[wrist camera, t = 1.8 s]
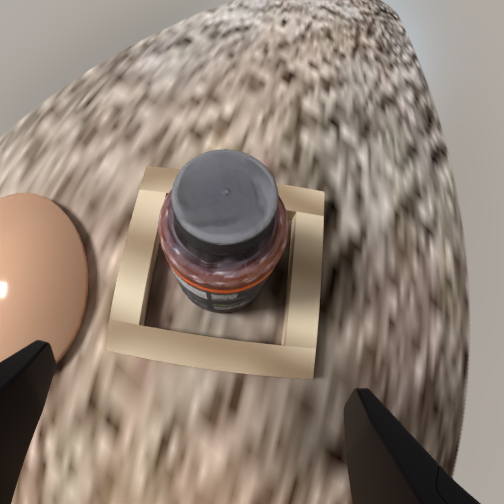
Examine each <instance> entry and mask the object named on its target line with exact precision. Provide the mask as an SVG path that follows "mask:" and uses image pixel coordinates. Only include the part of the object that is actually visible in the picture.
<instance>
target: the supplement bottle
mask: <svg viewBox="0 0 504 504" xmlns="http://www.w3.org/2000/svg"><path fill="white" fill-rule="evenodd" d="M158 232H159V239H160V243H161V247H162V250H163V252H164V255H165V257H166V259H167V261H168V263H169V265H170V267H171V269H172V271H173V273H174V275H175V276H176V278H177V280H178V282H179V284H180V286H181V288H182V290H183V292H184V293H185V294H186V295H187V296H188V298H189V299H190V300H191V301H192V302H193V303H195V304H196V305H197V306H199V307H201V308H203V309H205V310H207V311H212V312H218V313H226V312H232V311H236V310H238V309H241V308H243V307H245V306H246V305H248V304H249V303H250V302H251V301H252V300H253V299H255V297H256V296H257V295H258V293H259V292H260V290H261V289H262V287H263V285H264V284H265V282H266V281H267V279H268V277H269V276H270V274H271V273H272V271H273V269H274V268H275V266H276V264H277V263H278V261H279V259H280V258H281V256H282V254H283V252H284V250H285V247H286V244H287V239H288V232H289V224H288V215H287V212H286V208H285V206H284V203H283V201H282V199H281V198H280V196H279V194H278V188H277V185H276V182H275V180H274V178H273V176H272V174H271V173H270V171H269V170H268V169H267V168H266V166H264V165H263V164H262V163H261V162H260V161H259V160H257V159H256V158H254V157H252V156H250V155H248V154H246V153H243V152H240V151H235V150H227V149H225V150H214V151H210V152H206V153H204V154H201V155H199V156H197V157H195V158H194V159H192V160H190V161H189V162H188V163H187V164H186V165H185V166H184V167H183V168H182V169H181V171H180V172H179V173H178V175H177V177H176V178H175V181H174V183H173V187H172V189H171V191H170V192H169V193H168V195H167V197H166V198H165V200H164V203H163V205H162V208H161V211H160V214H159V222H158Z"/></svg>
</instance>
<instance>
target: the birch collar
mask: <svg viewBox="0 0 504 504" xmlns="http://www.w3.org/2000/svg"><path fill="white" fill-rule="evenodd" d="M180 171H181V170H178V169H169V168H160V167H150V166H147V167H146V170H145V174H144V177H143V180H142V183H141V187H140V190H139V194H138V197H137V201H136V204H135V208H134V211H133V215H132V219H131V223H130V227H129V230H128V234H127V238H126V243H125V247H124V251H123V255H122V260H121V264H120V268H119V273H118V278H117V283H116V287H115V292H114V298H113V303H112V308H111V314H110V320H109V325H108V332H107V338H106V344H105V350H109V351H113V352H117V353H122V354H127V355H131V356H136V357H141V358H146V359H151V360H156V361H162V362H167V363H173V364H179V365H185V366H191V367H198V368H204V369H211V370H219V371H226V372H235V373H243V374H252V375H262V376H273V377H285V378H299V379H313V374H314V364H315V354H316V343H317V331H318V319H319V305H320V290H321V273H322V253H323V227H324V192H322V191H316V190H311V189H306V188H300V187H294V186H289V185H283V184H277V183H276V185H277V188H278V194H279V196H280V198H281V199H282V201H283V203H284V206H285V208H286V212H287V215H288V220H292V227H291V240H290V252H289V265H288V276H287V288H286V299H285V309H284V320H283V330H282V339H281V345H272V344H262V343H254V342H245V341H237V340H230V339H222V338H215V337H208V336H201V335H195V334H188V333H182V332H176V331H170V330H164V329H159V328H153V327H148V326H144V323H145V317H146V311H147V305H148V299H149V294H150V288H151V283H152V277H153V272H154V267H155V262H156V257H157V253H158V248H159V243H160V239H159V232H158V222H159V214H160V211H161V208H162V205H163V203H164V200H165V198H166V197H167V195H168V193H169V192H170V191H171V189H172V187H173V183H174V181H175V178H176V177H177V175H178V173H179V172H180Z"/></svg>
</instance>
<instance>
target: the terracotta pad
mask: <svg viewBox="0 0 504 504" xmlns="http://www.w3.org/2000/svg"><path fill="white" fill-rule="evenodd" d="M88 287H89V271H88V262H87V257H86V252H85V248H84V245H83V242H82V239H81V236H80V234H79V233H78V231H77V229H76V227H75V225H74V224H73V222H72V221H71V220H70V218H69V217H68V216H67V215H66V214H65V213H64V212H63V211H62V210H61V209H60V207H59V206H57V205H56V204H55V203H53V202H52V201H51V200H49V199H47V198H45V197H43V196H40V195H36V194H30V193H17V194H12V195H8V196H5V197H3V198H0V362H1V361H3V360H5V359H6V358H8V357H9V356H11V355H13V354H14V353H16V352H18V351H19V350H21V349H23V348H24V347H26V346H27V345H29V344H31V343H32V342H34V341H36V340H42V341H46V342H48V343H50V345H51V347H52V351H53V354H54V357H55V360H56V364H57V363H58V362H59V361H60V360H61V359H62V358H63V356H64V355H65V354H66V352H67V351H68V350H69V348H70V346H71V345H72V343H73V341H74V340H75V338H76V335H77V333H78V331H79V328H80V326H81V323H82V320H83V316H84V313H85V308H86V303H87V298H88Z"/></svg>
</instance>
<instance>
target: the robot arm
mask: <svg viewBox="0 0 504 504" xmlns="http://www.w3.org/2000/svg"><path fill="white" fill-rule="evenodd" d="M55 369H56V360H55V357H54V354H53V351H52V347H51V345H50V343H48V342H46V341H42V340H36V341H34V342H32V343H31V344H29V345H27V346H26V347H24V348H23V349H21V350H19V351H18V352H16V353H14V354H13V355H11V356H9V357H8V358H6V359H5V360H3V361H1V362H0V504H11V502H12V498H13V495H14V491H15V488H16V485H17V481H18V478H19V475H20V472H21V469H22V466H23V463H24V460H25V457H26V454H27V451H28V448H29V445H30V443H31V440H32V437H33V434H34V432H35V429H36V427H37V424H38V421H39V419H40V416H41V414H42V411H43V408H44V405H45V402H46V398H47V395H48V392H49V388H50V385H51V382H52V378H53V375H54V372H55ZM344 425H345V450H346V460H347V467H348V474H349V481H350V488H351V495H352V503H353V504H480V503H479V502H478V501H477V500H476V499H474V498H473V497H472V496H471V495H470V494H469V493H467V492H466V491H465V490H464V489H463V488H462V487H461V486H460V485H458V484H457V483H456V482H455V481H454V480H453V479H452V478H451V477H450V476H449V475H448V474H447V473H446V471H445V470H444V469H443V468H442V467H441V466H438V463H437V462H436V461H435V460H434V459H433V458H432V457H431V456H430V454H429V453H428V452H427V451H426V450H425V449H424V448H423V447H422V446H421V445H420V444H419V443H418V442H417V440H416V439H415V438H414V437H413V436H412V435H411V434H410V433H409V432H408V431H407V430H406V429H405V428H404V426H403V425H402V424H401V423H400V422H399V421H398V420H397V419H396V418H395V417H394V416H393V415H392V413H391V412H390V411H389V410H388V409H387V408H386V407H385V406H384V405H383V404H382V403H381V402H380V400H379V399H378V398H377V397H376V396H375V395H374V394H373V393H372V392H371V391H370V390H369V389H367V388H356V389H354V390H353V392H352V394H351V395H350V397H349V399H348V400H347V402H346V404H345V407H344Z"/></svg>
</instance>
